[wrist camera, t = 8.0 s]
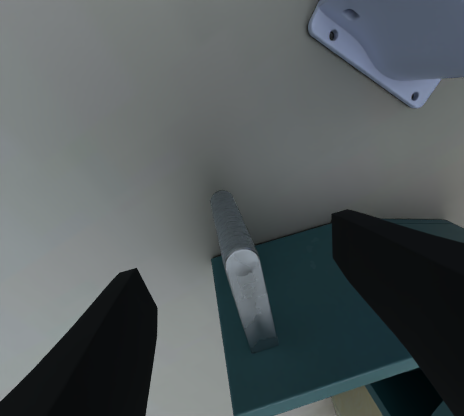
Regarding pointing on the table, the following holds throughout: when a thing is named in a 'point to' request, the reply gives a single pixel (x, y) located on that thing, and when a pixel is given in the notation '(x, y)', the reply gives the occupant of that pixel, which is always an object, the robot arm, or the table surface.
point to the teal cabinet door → (293, 320)
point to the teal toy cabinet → (415, 381)
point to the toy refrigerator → (355, 403)
